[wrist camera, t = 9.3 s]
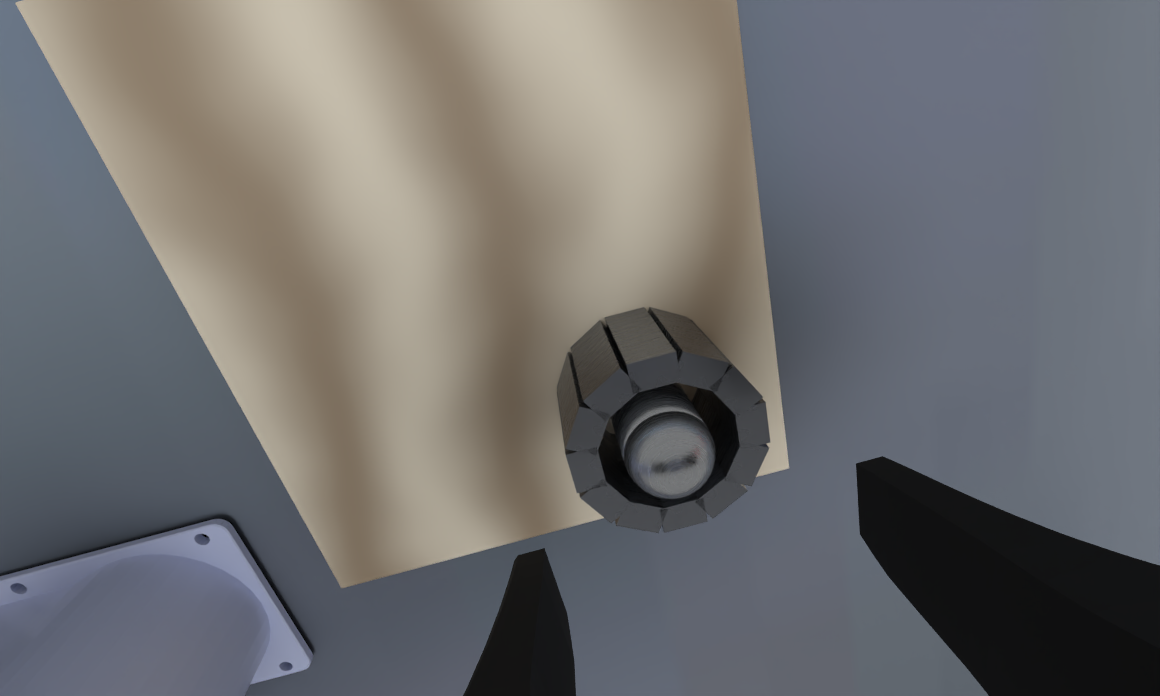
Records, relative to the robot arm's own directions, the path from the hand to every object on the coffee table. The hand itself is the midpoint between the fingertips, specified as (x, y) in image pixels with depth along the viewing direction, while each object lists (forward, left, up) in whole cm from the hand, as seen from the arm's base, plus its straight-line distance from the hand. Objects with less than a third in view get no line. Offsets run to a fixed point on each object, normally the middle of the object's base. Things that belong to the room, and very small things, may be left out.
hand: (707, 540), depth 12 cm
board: (-4, +5, -9) cm, 11 cm away
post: (0, 0, -9) cm, 9 cm away
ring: (0, 0, -8) cm, 8 cm away
